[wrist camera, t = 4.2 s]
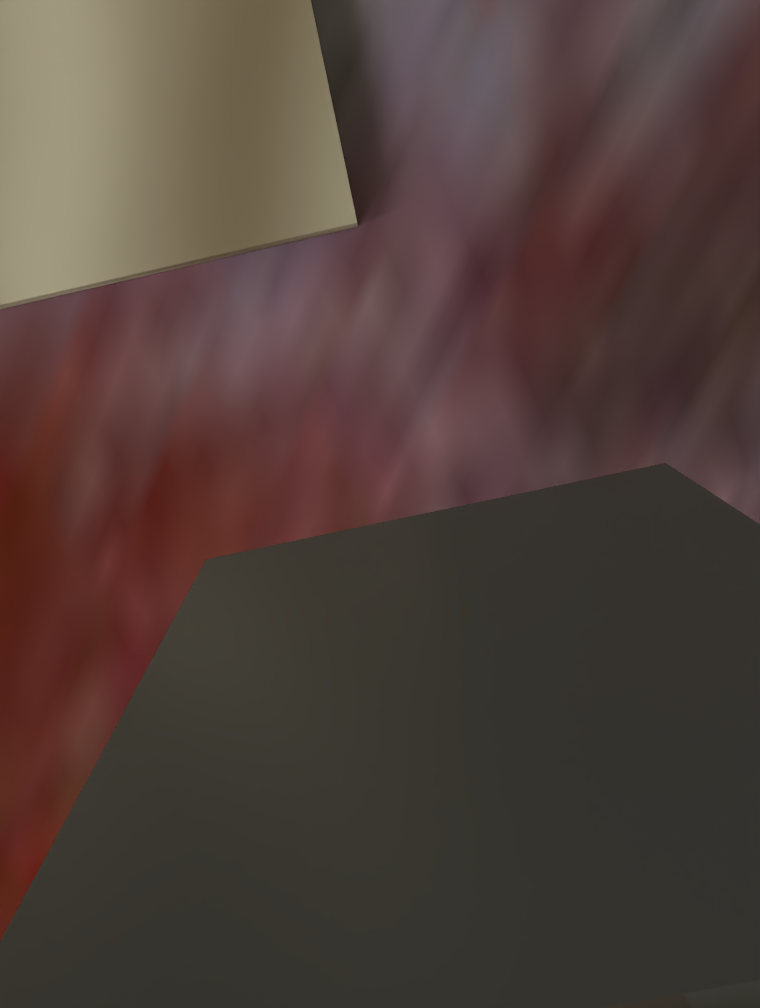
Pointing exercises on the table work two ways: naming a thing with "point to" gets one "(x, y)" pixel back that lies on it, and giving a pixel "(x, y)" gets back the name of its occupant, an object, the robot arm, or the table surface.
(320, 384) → the table surface
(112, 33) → the switch plate
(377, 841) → the grey open bin
